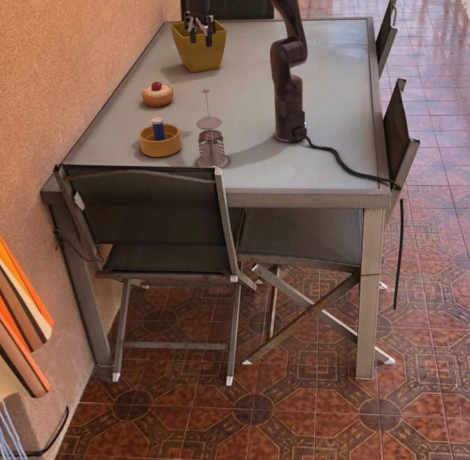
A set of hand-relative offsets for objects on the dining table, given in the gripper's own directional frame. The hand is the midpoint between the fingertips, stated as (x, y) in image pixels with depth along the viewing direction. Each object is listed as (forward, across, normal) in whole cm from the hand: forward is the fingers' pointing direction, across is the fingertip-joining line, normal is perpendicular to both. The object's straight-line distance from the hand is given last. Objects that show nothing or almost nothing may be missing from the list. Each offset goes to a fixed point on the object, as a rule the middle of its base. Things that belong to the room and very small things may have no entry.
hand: (201, 45), depth 223 cm
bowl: (+28, +7, -25) cm, 39 cm away
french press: (+30, +27, -20) cm, 45 cm away
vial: (+28, +7, -26) cm, 38 cm away
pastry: (+25, -25, -3) cm, 35 cm away
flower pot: (+21, -42, +31) cm, 56 cm away
